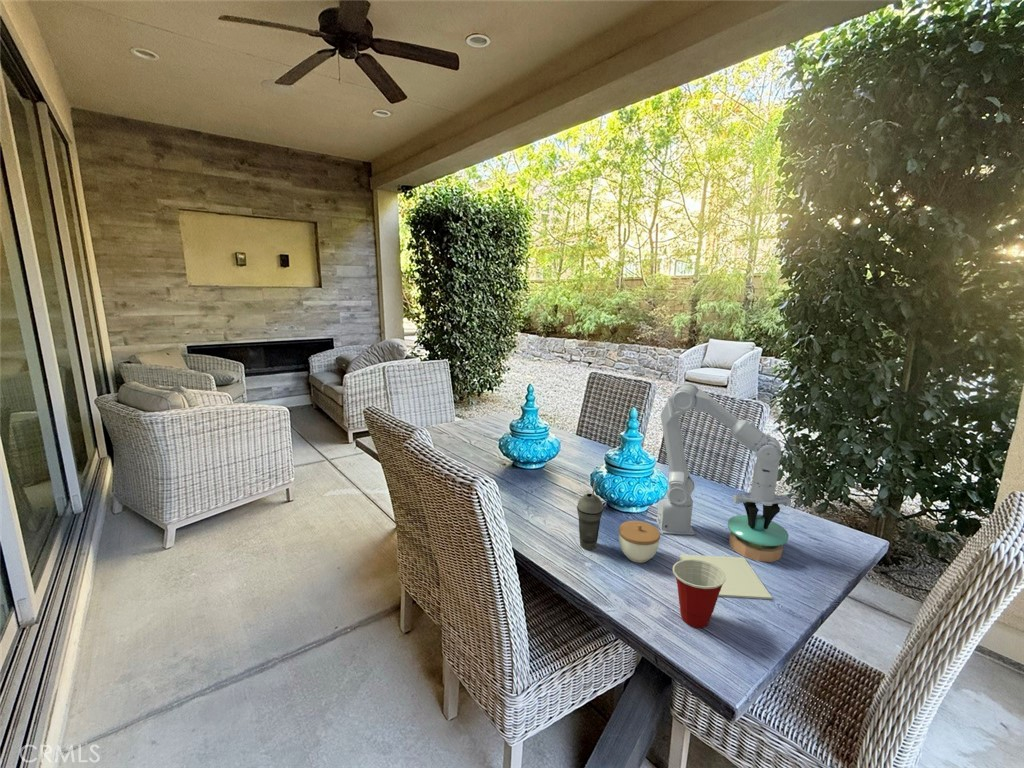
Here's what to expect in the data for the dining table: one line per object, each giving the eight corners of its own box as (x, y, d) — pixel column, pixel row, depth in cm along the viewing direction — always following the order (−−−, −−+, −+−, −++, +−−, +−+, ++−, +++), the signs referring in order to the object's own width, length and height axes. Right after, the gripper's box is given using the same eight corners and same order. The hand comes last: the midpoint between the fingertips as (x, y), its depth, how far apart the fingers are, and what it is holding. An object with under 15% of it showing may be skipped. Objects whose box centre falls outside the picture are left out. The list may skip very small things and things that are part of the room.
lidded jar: (651, 573, 118) (654, 540, 116) (611, 559, 123) (613, 528, 121) (662, 552, 127) (665, 522, 125) (624, 541, 132) (626, 511, 130)
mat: (698, 595, 110) (698, 593, 109) (679, 556, 125) (679, 554, 125) (771, 599, 108) (772, 597, 108) (743, 559, 124) (743, 557, 124)
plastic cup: (685, 595, 109) (690, 550, 107) (729, 621, 101) (735, 573, 98) (658, 615, 103) (662, 567, 100) (702, 644, 95) (708, 594, 92)
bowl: (740, 563, 124) (741, 550, 123) (722, 536, 136) (723, 525, 136) (790, 565, 123) (792, 552, 122) (767, 539, 135) (769, 527, 135)
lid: (740, 544, 121) (742, 529, 121) (719, 516, 136) (721, 502, 135) (799, 547, 120) (801, 532, 119) (772, 518, 135) (774, 505, 134)
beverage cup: (585, 535, 135) (588, 472, 130) (606, 545, 130) (610, 480, 125) (569, 545, 130) (572, 479, 125) (591, 556, 125) (594, 488, 120)
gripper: (742, 487, 122) (736, 533, 125) (799, 489, 121) (792, 536, 124) (732, 476, 128) (726, 520, 131) (786, 478, 127) (779, 522, 130)
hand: (757, 527), depth 128 cm, fingers closed on lid, 3 cm apart
